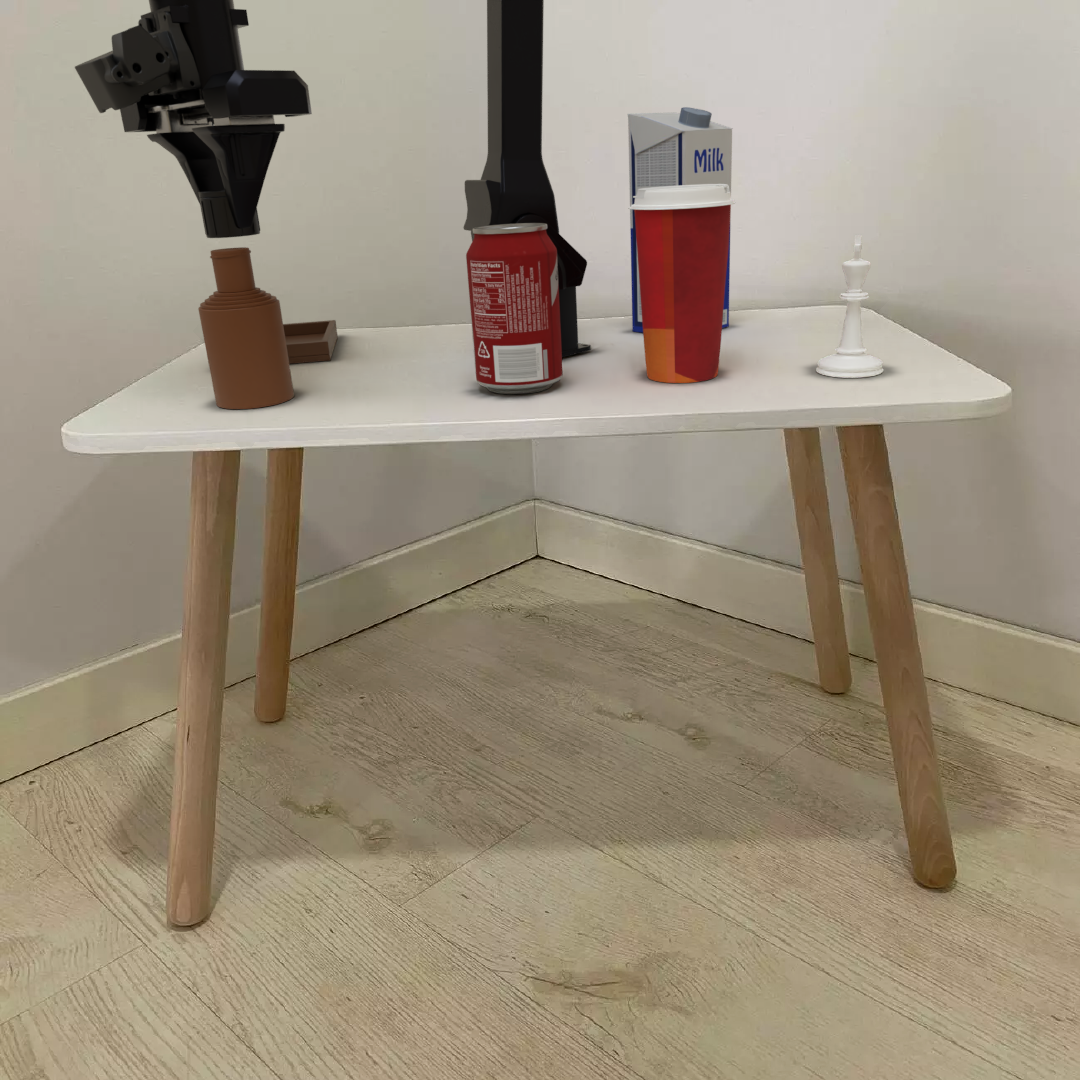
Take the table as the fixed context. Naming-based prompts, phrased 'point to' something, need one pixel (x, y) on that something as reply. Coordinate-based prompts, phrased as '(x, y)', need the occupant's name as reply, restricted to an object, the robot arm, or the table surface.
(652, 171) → the milk carton
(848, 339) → the chess piece
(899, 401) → the table surface
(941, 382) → the table surface
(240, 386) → the bottle
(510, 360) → the soda can
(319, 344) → the tray
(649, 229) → the paper cup
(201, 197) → the cap
